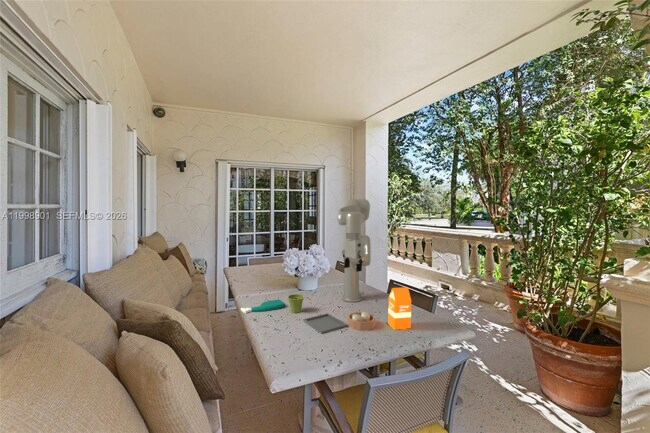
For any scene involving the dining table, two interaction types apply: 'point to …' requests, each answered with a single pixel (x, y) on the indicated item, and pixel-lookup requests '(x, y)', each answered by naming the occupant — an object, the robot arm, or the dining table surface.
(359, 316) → the pebble
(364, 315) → the pebble
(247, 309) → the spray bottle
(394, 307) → the orange juice
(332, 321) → the parts tray
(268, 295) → the dining table surface
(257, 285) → the dining table surface
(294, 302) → the plant pot
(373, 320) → the bowl
